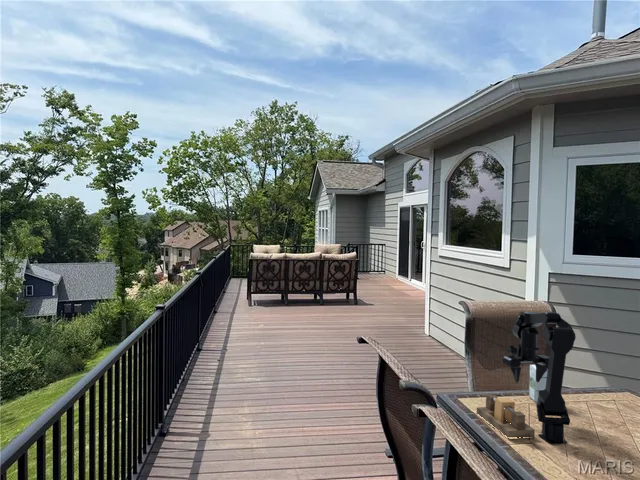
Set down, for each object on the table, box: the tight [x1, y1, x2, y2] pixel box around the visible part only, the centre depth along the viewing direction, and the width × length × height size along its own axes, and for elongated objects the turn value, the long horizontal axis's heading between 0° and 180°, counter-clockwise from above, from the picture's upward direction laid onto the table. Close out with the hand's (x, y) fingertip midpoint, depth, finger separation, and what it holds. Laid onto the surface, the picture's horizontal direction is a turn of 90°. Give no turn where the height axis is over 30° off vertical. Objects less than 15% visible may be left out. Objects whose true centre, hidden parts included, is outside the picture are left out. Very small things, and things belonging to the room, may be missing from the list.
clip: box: [494, 397, 516, 424], centre depth 158 cm, size 4×5×8 cm
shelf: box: [476, 394, 536, 438], centre depth 158 cm, size 20×10×8 cm, turn 11°
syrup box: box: [528, 364, 548, 403], centre depth 184 cm, size 6×6×14 cm
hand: (527, 382), depth 171 cm, fingers open, 9 cm apart
